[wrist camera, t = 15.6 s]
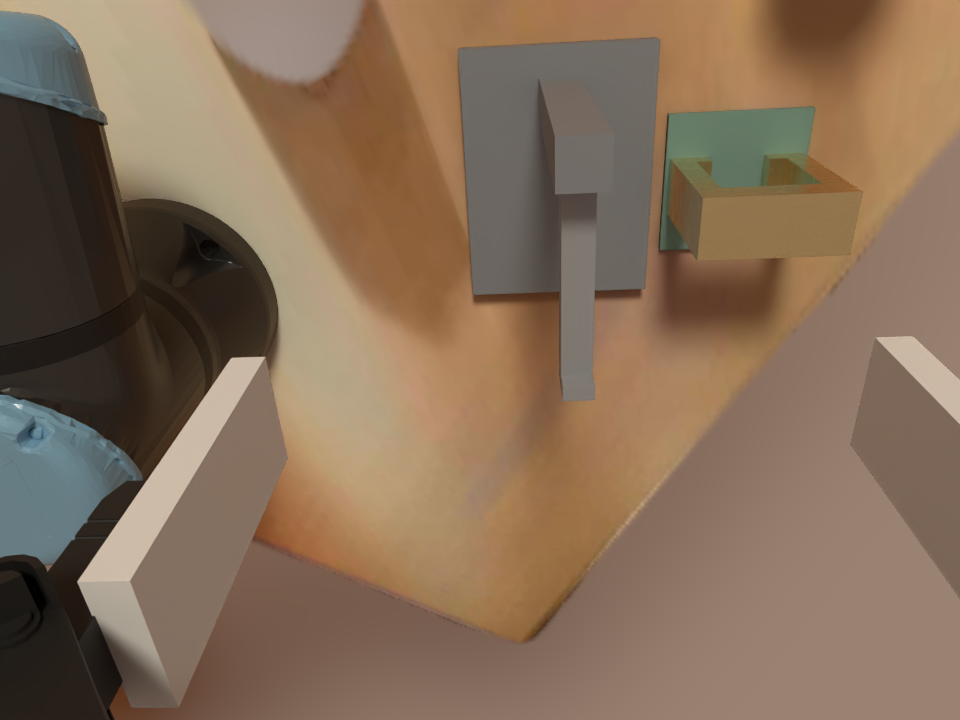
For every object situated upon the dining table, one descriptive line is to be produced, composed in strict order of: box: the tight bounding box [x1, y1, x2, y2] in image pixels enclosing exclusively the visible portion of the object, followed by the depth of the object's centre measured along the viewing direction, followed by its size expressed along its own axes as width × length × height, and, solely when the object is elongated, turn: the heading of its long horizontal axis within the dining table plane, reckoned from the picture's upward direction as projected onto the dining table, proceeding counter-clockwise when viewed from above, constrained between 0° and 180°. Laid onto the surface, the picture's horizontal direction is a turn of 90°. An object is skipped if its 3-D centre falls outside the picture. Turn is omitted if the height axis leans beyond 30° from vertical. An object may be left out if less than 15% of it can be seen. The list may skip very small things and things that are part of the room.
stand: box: [458, 37, 660, 401], centre depth 40 cm, size 12×16×18 cm
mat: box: [659, 107, 815, 250], centre depth 48 cm, size 9×9×1 cm
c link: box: [666, 153, 863, 261], centre depth 44 cm, size 8×4×9 cm, turn 93°
